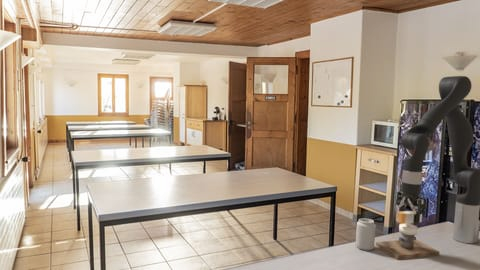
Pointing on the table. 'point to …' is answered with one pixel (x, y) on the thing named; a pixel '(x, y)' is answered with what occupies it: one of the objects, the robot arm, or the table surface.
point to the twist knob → (407, 222)
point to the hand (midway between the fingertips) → (408, 219)
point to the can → (365, 234)
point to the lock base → (406, 252)
